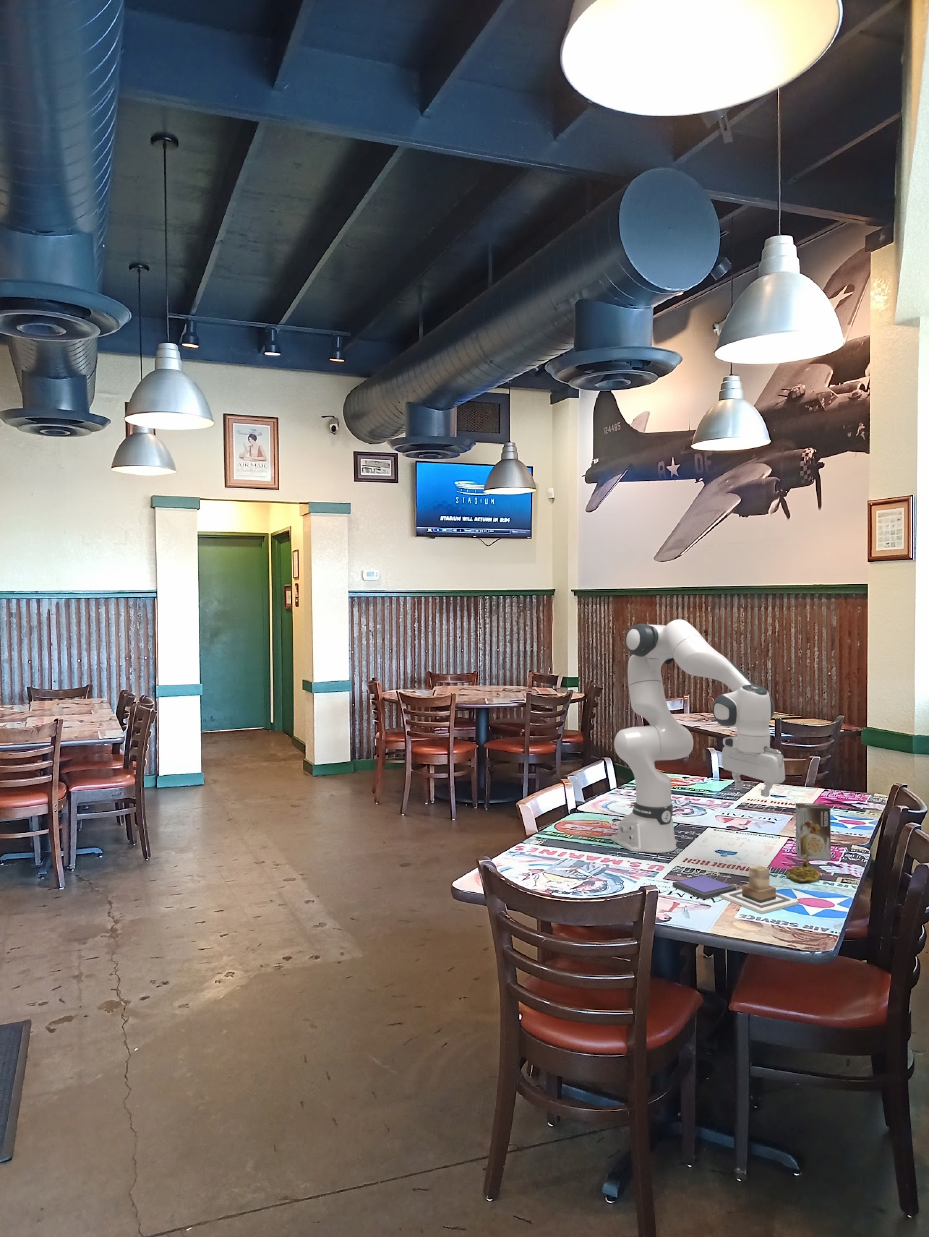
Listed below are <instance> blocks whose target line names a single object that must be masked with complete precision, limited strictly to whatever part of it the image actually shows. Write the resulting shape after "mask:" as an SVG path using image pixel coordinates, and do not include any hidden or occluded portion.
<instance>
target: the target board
mask: <svg viewBox="0 0 929 1237" xmlns="http://www.w3.org/2000/svg"><path fill="white" fill-rule="evenodd" d="M720 898H721V899H724V900H727V901H729V902H731V903H733V904H736V905H739V906H741V907H743V908H746V909H749V910H751V911H753V912H756V913H758V914H761V915H764V914H767V913H771V912H774V911H779V910H781V909H786V908H790V907H793V906H798V905H800V900H798V899H796V898H795V899H794V898H793V897H790V896H786V895H784V894H782V893H779V892H776V899H774V900H771V901H767V902H763V903H758V902H756V901H753V900H750V899H748V898H745V897H743V896H742V889H738V890H737V889H736V891H733V892H729V893H725V894H721V896H720Z"/></svg>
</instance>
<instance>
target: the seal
mask: <svg viewBox="0 0 929 1237" xmlns="http://www.w3.org/2000/svg"><path fill="white" fill-rule="evenodd" d="M809 860H810V859H808V857H804V858H803V859H802V865H799V866H794V867H792V868H788V870H787V871H786V872H785V876H786V878H787V879H788V880H789V881H791V882H793V883H795V884H816V883H819V881H820V880H821V879H822V875H821V872H820V871H818V870H817V869H816V868H813V867H811V866H810V862H809Z"/></svg>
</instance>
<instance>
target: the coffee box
mask: <svg viewBox="0 0 929 1237" xmlns="http://www.w3.org/2000/svg"><path fill="white" fill-rule="evenodd" d="M831 822H832V821H831V808H830V806H828V805H826V804H825V803H813V802H812V803H807V802H805V803H803V802H795V854H796V853H797V854H796V855H797V857H798V856H799V857H800V858H801V859H800V858H799V857H798V858H799V859H800V860H803V858H804V857H808V860H812V859H813V860H816V861H817V860H818V861H819V860H820V861H823V860H824V861H832V855H831V854H832V845H831V844H832V843H831V841H832V839H831V838H832V837H831V836H832V835H831V834H832V833H831V832H832V831H831V830H832V828H831Z"/></svg>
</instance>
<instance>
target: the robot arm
mask: <svg viewBox="0 0 929 1237" xmlns="http://www.w3.org/2000/svg"><path fill="white" fill-rule="evenodd" d="M624 640H625V643H624V644H625V647H626V650H627V651H628V652H629V653H630V654H631V656H630V657H629V659H628V661H627V681H628V682H627V684H628V692H629V700H630V706H631V707H630V708H631V709H632V711H633V712H634V713H635V714H636V715H638V716H640V717H643V719H645V721H647V722H648V723H649V725H648V726H646V725H645V726H632V727H627V728H622V729H620V730H619V731H618V732H617V733H616V735H615V737H614V740H613V741H614V742H613V746H614V751H615V753H616V755H617V756H618V757H619V758H620V759H621V760H622V761H623V762H625V763H626V764H627V765H628V766H629V768H630V769H631V771H632V774H633V777H634V782H635V800H636V801H634V802H630V807H632V810H631V811H632V812H630V813H629V814H628V815H627V816H625V817H624V818H622V819H621V820H620V821H619V823H618V825H617V833H614V834H612V835H611V836H610V841H612V842H614V843H616V844H618V845H620V846H621V847H623V848H625V849H627V850H628V851H631V852H637V853H638V852H640V853H641V852H643V853H644V852H645V853H651V854H653V853H654V854H655V853H657V854H658V853H659V854H661V853H670V852H673V851H676V850H677V843H678V842H677V839H676V836H675V826H674V819H673V815H674V812H673V811H674V808H673V807H674V805H673V803H672V780H671V779H670V777H669V776H668V775H667V774H665V773H664V772H662V771H661V770H658V769H656V766H655V762H656V761H672V760H674V761H675V760H678V759H679V760H680V759H682V758H686V757H689V756H690V754H691V753H692V751H693V748H694V738H693V735H692V733H691V732H690V731H689V729H688V728H687V727H685V726H683V725H682V724H681V723H679V721H677V719H676V718H675V717H674V716H673V714H672V712H671V711H670V709H669V707H668V703H667V700H666V695H665V690H664V684H663V677H662V672H661V670H662V665H663V664H666V665H670V664H672V663H673V662H675V663H676V665H677V666H678V667H679V668H680V669H681V670H682V671H684V672H685V673H686V674H688V675H690V676H694V677H700V678H706V679H713V680H716V681H719V682H721V683H723V684H725V686H726V687H728V688H729V689H730V690H731V691H732V692H727V693H723V694H719V695H718V696H717V697H716V698H715V700H714V702H713V704H712V715H713V718H714V720H715V721H716V722H717V723H718V725H720V726H722V727H728V728H731V727H732V728H733V727H735V728H737V731H736V735H734V736H728V737H724V738H723V739H722V744H723V747H722V750H721V766H722V768H723V770H725V771H728V772H731V776H732V778H733V781H734V788H736V789H739V790H740V789H741V790H742V789H744V782H743V781H742V780H741V776H742V775H743V776H747V777H749V778H753V779H756V780H760V781H763V785H764V787H763V789H760V796H761V797H764V798H767V797H768V798H769V797H770V791H771V789H772V788H773V786H774V785H779V784H782V783H784V781H785V780H786V770H785V768H786V767H785V762H784V755H783V754H782V752H781V751H780V750H779V749H777V748H776V749H775V748H772V747H771V745H770V744H771V730H770V723H771V721H772V718H773V717H774V714H775V710H776V708H775V703H774V701H773V699H772V697H771V696H770V692H769V691H768V689H766V688H765V687H764V686H760V685H757V684H756V685H755V683H753V682H752V680H751V679H750V678H749V677H747V676H746V674H745V673H744V672H743V671H742V670H741V669H739V667H738V666H737V665H735V664H734V662H733V661H732V660H730V659H729V658H728V657H726V656H724V655H722V654H721V653H720V652H718V651H717V650H716V649H715V648H713V647H712V646H711V645H710V644H709V642H707V641H706V639H705V638H704V637H703V635H701V633H700V632H699V631H698V630H697V629H696V628H695V627H694V626H693V625H692V624H691V623H689V622H688V621H686V620H684V619H678V618H677V619H674V620H672V621H670V622H668V623H667V624H666V625H663V624H646V623H638V624H634V625H632V626H630V627H629V628H628V630H627V631H626V635H625V639H624Z"/></svg>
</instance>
